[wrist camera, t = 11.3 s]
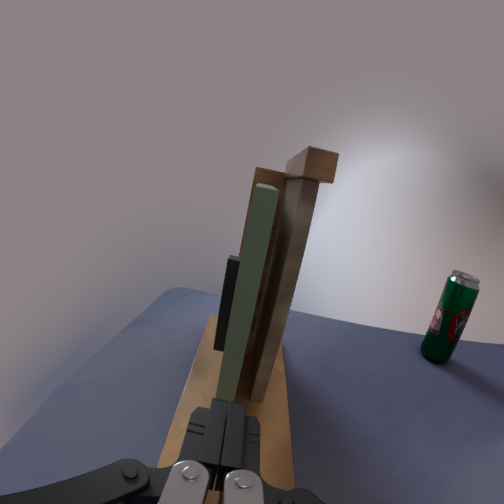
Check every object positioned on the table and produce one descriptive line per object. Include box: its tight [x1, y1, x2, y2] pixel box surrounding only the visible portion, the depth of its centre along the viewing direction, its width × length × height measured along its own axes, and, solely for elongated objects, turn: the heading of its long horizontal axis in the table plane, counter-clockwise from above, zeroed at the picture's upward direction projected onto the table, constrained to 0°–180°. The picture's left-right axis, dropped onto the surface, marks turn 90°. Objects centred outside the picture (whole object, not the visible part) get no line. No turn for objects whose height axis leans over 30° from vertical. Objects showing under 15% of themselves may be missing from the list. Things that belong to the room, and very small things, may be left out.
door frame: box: [156, 146, 339, 504], centre depth 18 cm, size 8×25×19 cm, turn 178°
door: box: [213, 183, 279, 415], centre depth 21 cm, size 2×11×15 cm, turn 178°
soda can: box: [421, 270, 480, 363], centre depth 31 cm, size 5×5×12 cm
